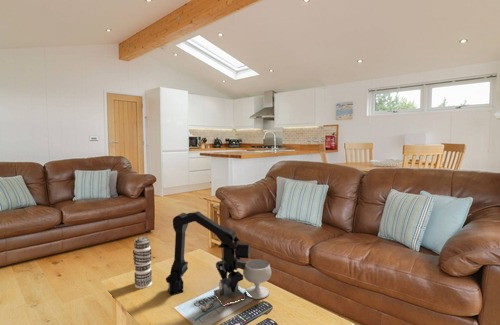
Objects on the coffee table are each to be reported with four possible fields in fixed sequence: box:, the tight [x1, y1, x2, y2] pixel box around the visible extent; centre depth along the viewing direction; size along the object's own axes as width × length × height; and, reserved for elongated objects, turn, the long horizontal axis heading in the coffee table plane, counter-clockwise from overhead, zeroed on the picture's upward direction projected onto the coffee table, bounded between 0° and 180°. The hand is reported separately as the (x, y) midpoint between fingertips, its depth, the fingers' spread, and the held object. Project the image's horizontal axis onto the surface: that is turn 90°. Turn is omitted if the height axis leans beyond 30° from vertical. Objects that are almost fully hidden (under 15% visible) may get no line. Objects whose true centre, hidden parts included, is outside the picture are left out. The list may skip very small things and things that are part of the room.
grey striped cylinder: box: [132, 236, 153, 289], centre depth 152 cm, size 9×9×25 cm
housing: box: [218, 277, 239, 297], centre depth 140 cm, size 10×5×6 cm, turn 119°
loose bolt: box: [200, 301, 213, 312], centre depth 131 cm, size 6×3×3 cm, turn 149°
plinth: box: [213, 288, 246, 305], centre depth 140 cm, size 11×11×3 cm
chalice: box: [242, 258, 272, 300], centre depth 144 cm, size 14×14×15 cm
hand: (229, 287), depth 140 cm, fingers open, 9 cm apart
